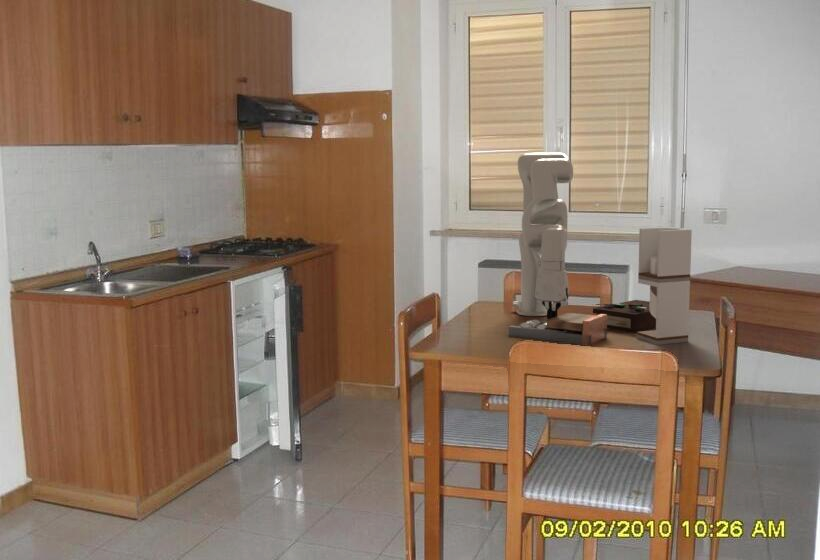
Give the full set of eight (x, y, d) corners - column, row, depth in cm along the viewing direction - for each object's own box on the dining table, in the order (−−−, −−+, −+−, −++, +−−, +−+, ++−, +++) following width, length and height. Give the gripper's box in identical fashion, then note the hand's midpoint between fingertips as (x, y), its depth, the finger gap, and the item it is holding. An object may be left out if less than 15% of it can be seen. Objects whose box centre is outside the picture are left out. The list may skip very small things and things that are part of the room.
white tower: (666, 335, 276) (670, 227, 271) (688, 341, 266) (691, 229, 261) (636, 338, 272) (639, 228, 267) (657, 344, 262) (660, 230, 257)
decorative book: (684, 302, 296) (634, 313, 276) (683, 323, 297) (633, 336, 277) (636, 296, 310) (585, 306, 291) (636, 316, 311) (585, 328, 292)
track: (508, 335, 279) (508, 312, 278) (529, 328, 290) (529, 306, 289) (588, 345, 263) (588, 321, 261) (606, 337, 274) (607, 314, 273)
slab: (546, 327, 270) (546, 319, 269) (567, 319, 282) (567, 312, 281) (581, 331, 263) (581, 323, 262) (601, 323, 275) (601, 316, 274)
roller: (562, 339, 271) (564, 327, 270) (573, 335, 277) (575, 323, 276) (573, 342, 269) (575, 330, 268) (584, 338, 275) (586, 326, 274)
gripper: (526, 265, 276) (526, 321, 278) (568, 269, 267) (567, 326, 269) (538, 262, 281) (537, 317, 284) (579, 266, 272) (578, 322, 275)
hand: (552, 321), depth 277 cm, fingers closed
